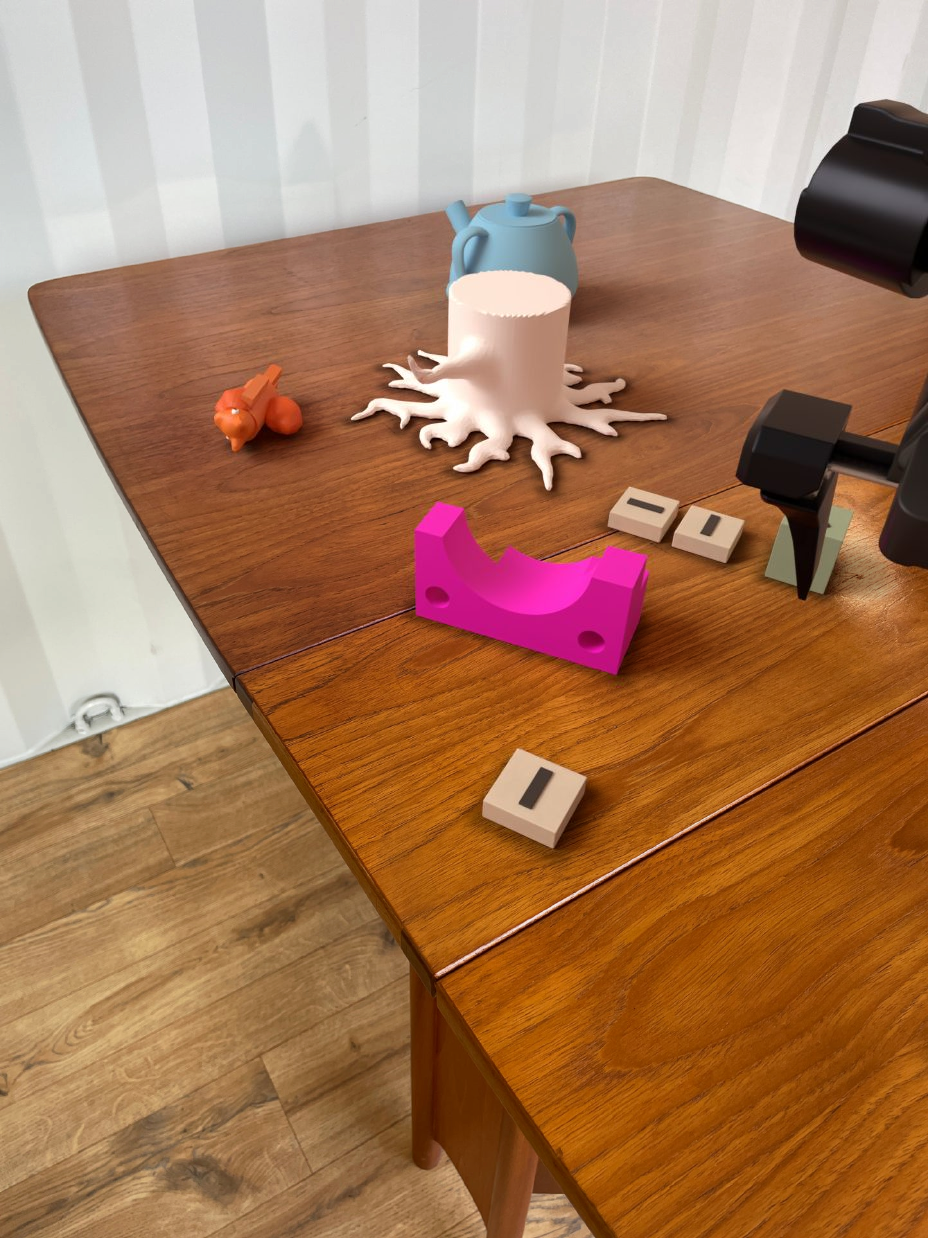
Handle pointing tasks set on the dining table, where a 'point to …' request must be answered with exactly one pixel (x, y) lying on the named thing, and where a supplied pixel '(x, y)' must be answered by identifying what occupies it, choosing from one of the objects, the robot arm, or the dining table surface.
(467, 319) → the tree stump
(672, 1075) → the dining table surface
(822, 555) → the green letter i block
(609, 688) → the dining table surface
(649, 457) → the dining table surface
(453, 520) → the magenta cradle bracket
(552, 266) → the teapot
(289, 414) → the orange toy bird
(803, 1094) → the dining table surface
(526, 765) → the beige minus sign block
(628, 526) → the beige letter tiles
